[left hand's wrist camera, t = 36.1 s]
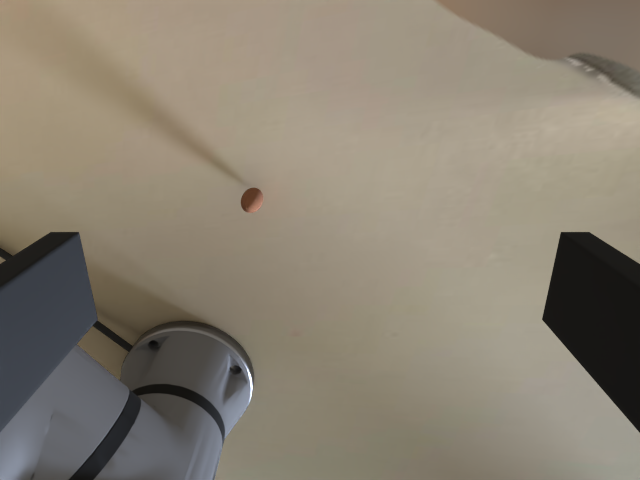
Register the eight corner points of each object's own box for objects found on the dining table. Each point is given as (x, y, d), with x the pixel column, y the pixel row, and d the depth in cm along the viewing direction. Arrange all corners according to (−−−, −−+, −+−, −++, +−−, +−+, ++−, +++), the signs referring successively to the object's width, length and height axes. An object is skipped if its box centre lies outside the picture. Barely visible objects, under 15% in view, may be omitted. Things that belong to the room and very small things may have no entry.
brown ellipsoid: (254, 206, 46) (246, 222, 41) (241, 190, 45) (232, 205, 41) (269, 195, 45) (263, 210, 41) (257, 179, 45) (250, 193, 40)
